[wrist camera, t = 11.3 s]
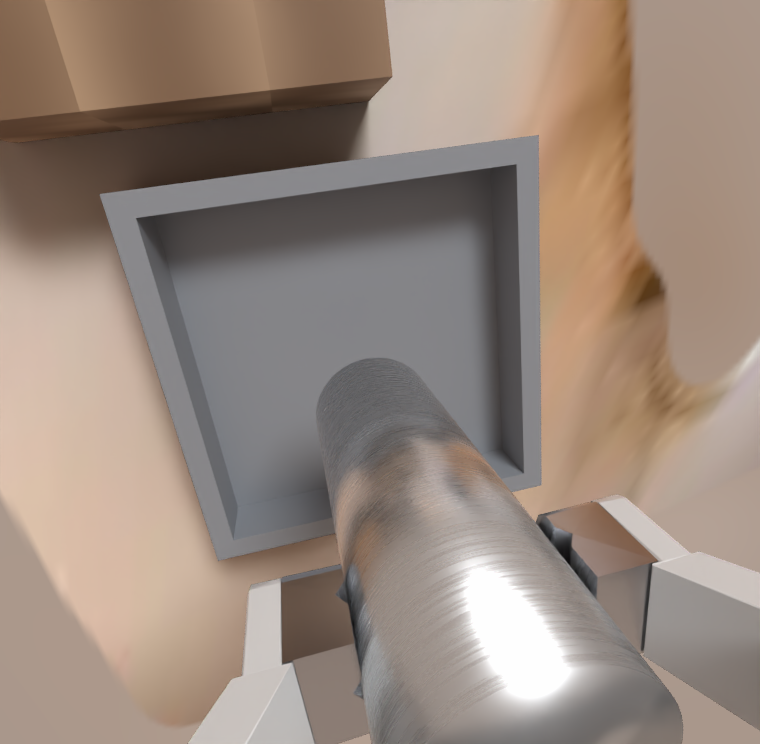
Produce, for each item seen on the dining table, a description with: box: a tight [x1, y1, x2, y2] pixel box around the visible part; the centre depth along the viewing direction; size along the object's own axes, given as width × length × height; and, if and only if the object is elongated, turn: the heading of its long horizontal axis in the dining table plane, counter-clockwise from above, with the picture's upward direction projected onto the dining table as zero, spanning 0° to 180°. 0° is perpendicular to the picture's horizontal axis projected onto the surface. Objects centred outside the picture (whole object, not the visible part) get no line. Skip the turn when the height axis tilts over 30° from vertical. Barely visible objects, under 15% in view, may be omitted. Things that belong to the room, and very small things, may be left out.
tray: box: [100, 135, 541, 561], centre depth 19 cm, size 14×14×3 cm
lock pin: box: [316, 358, 683, 744], centre depth 10 cm, size 4×4×10 cm
